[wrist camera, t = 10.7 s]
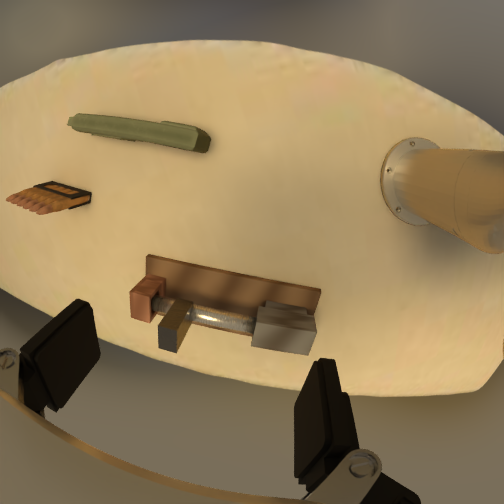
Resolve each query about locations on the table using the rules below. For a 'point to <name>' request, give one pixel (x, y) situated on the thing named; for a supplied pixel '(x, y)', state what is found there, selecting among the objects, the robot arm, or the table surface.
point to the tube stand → (234, 301)
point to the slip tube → (186, 312)
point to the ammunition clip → (50, 198)
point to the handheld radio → (143, 131)
